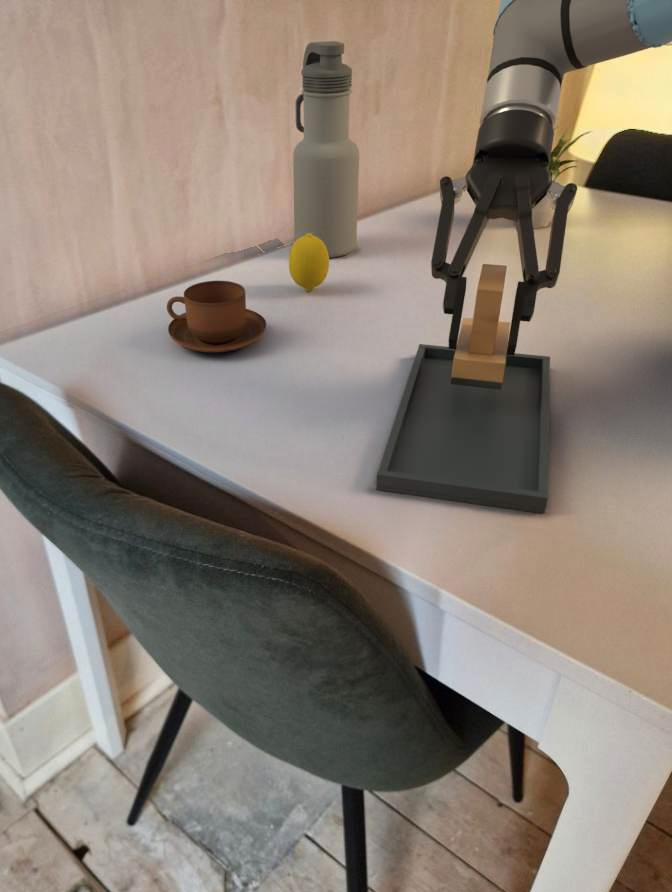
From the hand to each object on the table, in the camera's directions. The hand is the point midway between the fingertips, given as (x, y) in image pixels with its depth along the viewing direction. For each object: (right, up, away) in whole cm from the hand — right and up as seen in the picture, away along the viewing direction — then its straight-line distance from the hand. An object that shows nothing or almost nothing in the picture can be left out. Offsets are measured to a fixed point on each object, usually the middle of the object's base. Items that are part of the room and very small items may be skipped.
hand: (481, 346), depth 75 cm
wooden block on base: (+1, -1, +5) cm, 5 cm away
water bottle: (-13, +25, +46) cm, 54 cm away
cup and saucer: (-28, +5, +20) cm, 34 cm away
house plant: (+21, +33, +54) cm, 67 cm away
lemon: (-16, +15, +32) cm, 38 cm away
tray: (0, -7, +2) cm, 8 cm away
